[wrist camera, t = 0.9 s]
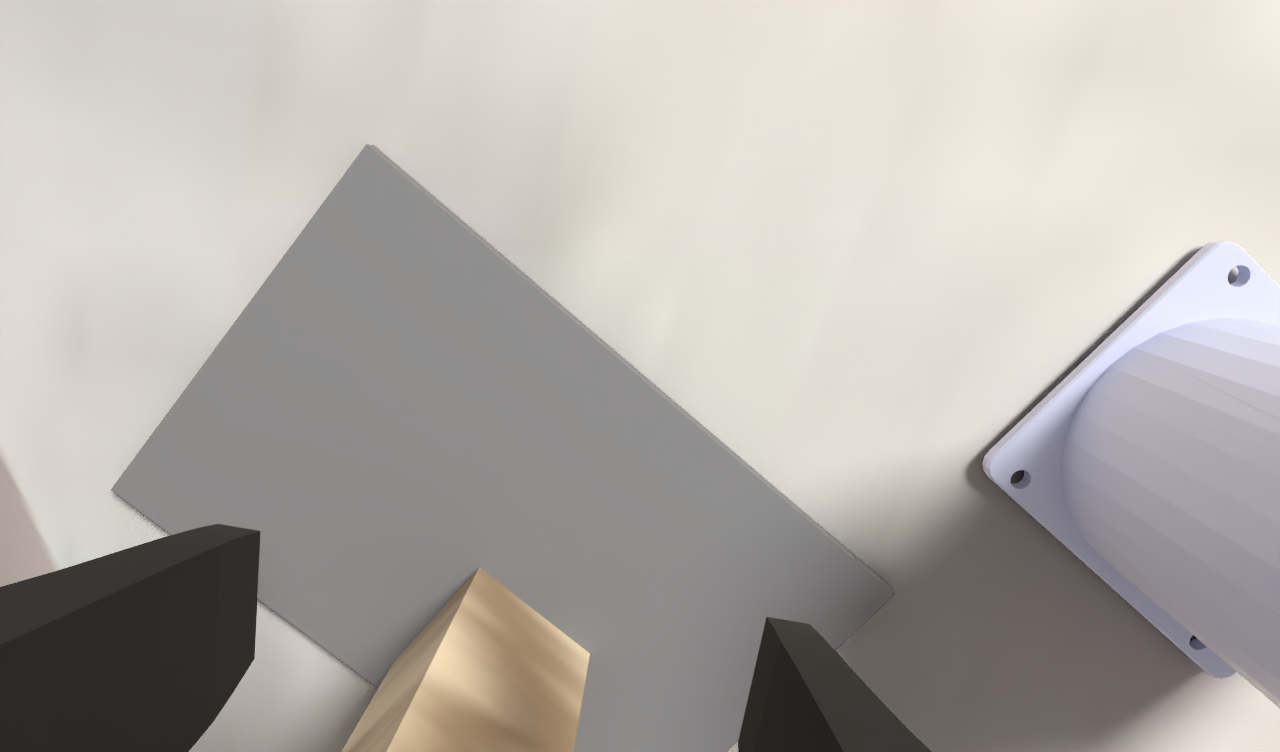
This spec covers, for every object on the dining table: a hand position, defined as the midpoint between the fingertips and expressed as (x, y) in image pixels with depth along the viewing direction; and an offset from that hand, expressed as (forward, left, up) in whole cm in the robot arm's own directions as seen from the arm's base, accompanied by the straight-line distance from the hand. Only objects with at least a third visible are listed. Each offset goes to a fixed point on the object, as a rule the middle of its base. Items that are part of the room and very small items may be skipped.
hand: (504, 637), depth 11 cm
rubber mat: (0, +4, -10) cm, 11 cm away
